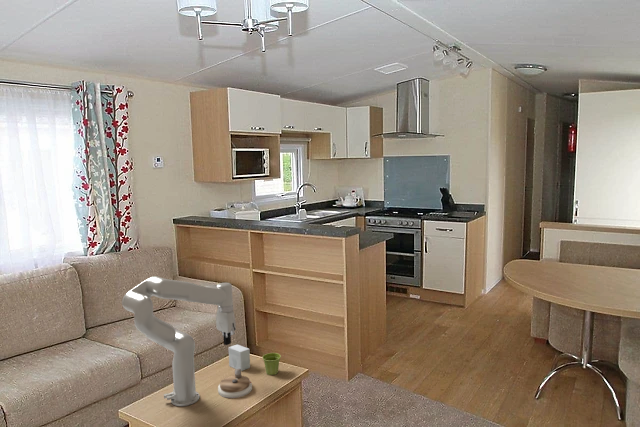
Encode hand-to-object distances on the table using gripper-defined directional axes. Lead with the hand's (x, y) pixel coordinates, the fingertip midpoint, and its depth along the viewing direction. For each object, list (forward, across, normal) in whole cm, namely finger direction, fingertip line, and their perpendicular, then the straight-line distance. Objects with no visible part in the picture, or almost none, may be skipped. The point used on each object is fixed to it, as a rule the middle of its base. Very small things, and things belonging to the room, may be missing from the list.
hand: (227, 343), depth 231 cm
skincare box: (+19, -7, +13) cm, 24 cm away
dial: (+16, +10, -5) cm, 20 cm away
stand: (+19, +10, -5) cm, 22 cm away
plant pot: (+19, +12, +18) cm, 29 cm away
